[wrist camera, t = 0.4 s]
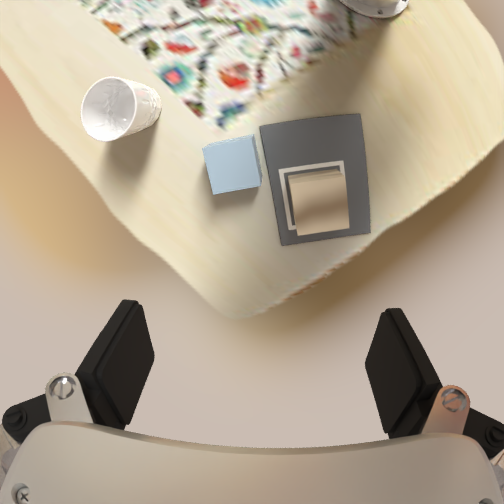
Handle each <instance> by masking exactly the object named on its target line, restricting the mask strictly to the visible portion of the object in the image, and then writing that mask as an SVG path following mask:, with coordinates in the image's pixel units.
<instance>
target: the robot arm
mask: <svg viewBox="0 0 504 504" xmlns="http://www.w3.org/2000/svg"><path fill="white" fill-rule="evenodd" d="M340 1H341V2H342V3H343V4H344V5H346V6H347V7H349V8H350V9H352V10H354V11H356V12H357V13H360V14H363V15H365V16H369V17H373V18H389V17H393V16H395V15H397V14H399V13H400V12H402V11H403V10H404V9H405V8H406V6H407V4H408V2H409V0H340ZM378 13H379V14H378ZM153 362H154V351H153V347H152V343H151V339H150V335H149V332H148V327H147V323H146V319H145V315H144V311H143V307H142V305H139V303H138V301H135V300H122V302H121V303H120V304H119V306H118V308H117V309H116V310H115V312H114V314H113V315H112V317H111V318H110V320H109V321H108V323H107V324H106V326H105V327H104V329H103V330H102V331H101V332H100V334H99V336H98V338H97V339H96V340H95V342H94V343H93V345H92V347H91V348H90V350H89V351H88V353H87V355H86V356H85V358H84V360H83V362H82V363H81V365H80V366H79V368H78V370H77V372H76V373H75V375H73V374H71V373H61V374H57V375H55V376H54V377H53V378H51V379H50V380H49V382H48V383H47V385H46V389H45V390H46V391H45V394H43V395H40V396H38V397H35V398H32V399H30V400H27V401H25V402H22V403H19V404H17V405H14V406H12V407H10V408H9V409H8V410H6V412H5V413H4V415H3V419H2V424H1V425H0V504H504V424H502V423H501V422H499V421H497V420H494V419H493V418H490V417H488V416H486V415H484V414H482V413H480V412H478V411H476V410H474V409H472V408H470V399H469V396H468V395H467V393H466V392H465V391H464V390H463V389H462V388H460V387H458V386H454V385H448V386H445V387H443V386H442V384H441V382H440V380H439V377H438V376H437V373H436V371H435V369H434V367H433V365H432V363H431V362H430V360H429V358H428V356H427V354H426V352H425V350H424V348H423V346H422V344H421V343H420V341H419V339H418V337H417V336H416V334H415V332H414V330H413V328H412V327H411V325H410V323H409V321H408V320H407V318H406V316H405V315H404V313H403V311H402V310H401V309H400V308H388V309H386V310H385V312H383V313H381V316H380V319H379V322H378V325H377V328H376V331H375V334H374V338H373V341H372V344H371V346H370V349H369V352H368V355H367V358H366V361H365V368H366V371H367V374H368V378H369V381H370V384H371V388H372V391H373V395H374V398H375V401H376V405H377V409H378V412H379V416H380V419H381V423H382V427H383V430H384V432H385V433H388V436H389V439H387V440H381V441H374V442H366V443H358V444H350V445H339V446H327V447H312V448H247V447H231V446H219V445H208V444H199V443H191V442H184V441H177V440H171V439H164V438H159V437H154V436H148V435H143V434H138V433H133V432H129V431H125V430H124V429H125V426H126V425H129V424H130V422H131V419H132V417H133V414H134V411H135V409H136V406H137V403H138V401H139V398H140V395H141V393H142V390H143V387H144V385H145V382H146V380H147V377H148V375H149V372H150V370H151V367H152V365H153Z"/></svg>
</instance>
